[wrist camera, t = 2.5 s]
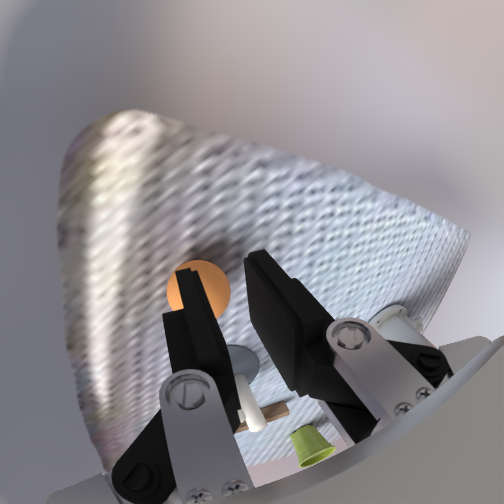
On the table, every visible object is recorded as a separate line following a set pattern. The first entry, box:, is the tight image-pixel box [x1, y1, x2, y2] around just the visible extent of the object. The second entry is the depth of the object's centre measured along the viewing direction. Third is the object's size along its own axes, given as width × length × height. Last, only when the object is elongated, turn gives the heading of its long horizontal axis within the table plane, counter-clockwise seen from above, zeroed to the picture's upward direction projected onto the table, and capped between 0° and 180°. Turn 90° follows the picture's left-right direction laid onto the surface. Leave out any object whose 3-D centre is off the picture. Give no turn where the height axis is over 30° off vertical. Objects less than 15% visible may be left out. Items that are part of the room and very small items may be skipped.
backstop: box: [235, 401, 289, 433], centre depth 43 cm, size 20×2×2 cm, turn 94°
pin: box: [234, 374, 267, 432], centre depth 35 cm, size 2×2×9 cm
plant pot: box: [291, 425, 336, 468], centre depth 53 cm, size 9×9×9 cm
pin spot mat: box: [227, 345, 259, 384], centre depth 37 cm, size 12×12×1 cm
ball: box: [167, 260, 230, 318], centre depth 26 cm, size 6×6×6 cm
